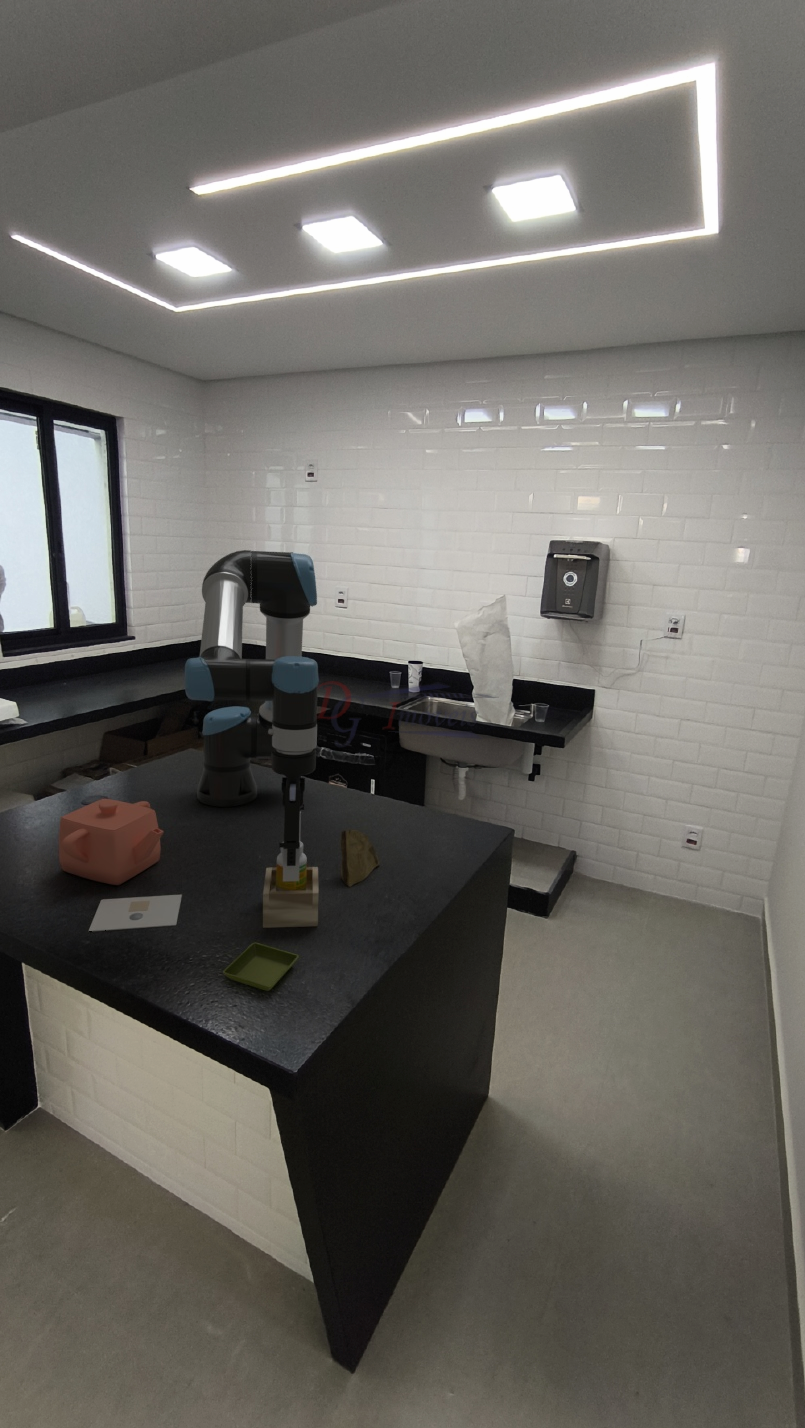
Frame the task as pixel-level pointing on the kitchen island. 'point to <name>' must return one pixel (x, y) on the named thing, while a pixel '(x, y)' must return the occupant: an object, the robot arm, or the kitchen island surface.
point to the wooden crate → (290, 902)
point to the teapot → (109, 840)
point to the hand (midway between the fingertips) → (292, 861)
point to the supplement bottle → (291, 885)
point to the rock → (356, 857)
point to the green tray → (260, 966)
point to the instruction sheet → (136, 913)
